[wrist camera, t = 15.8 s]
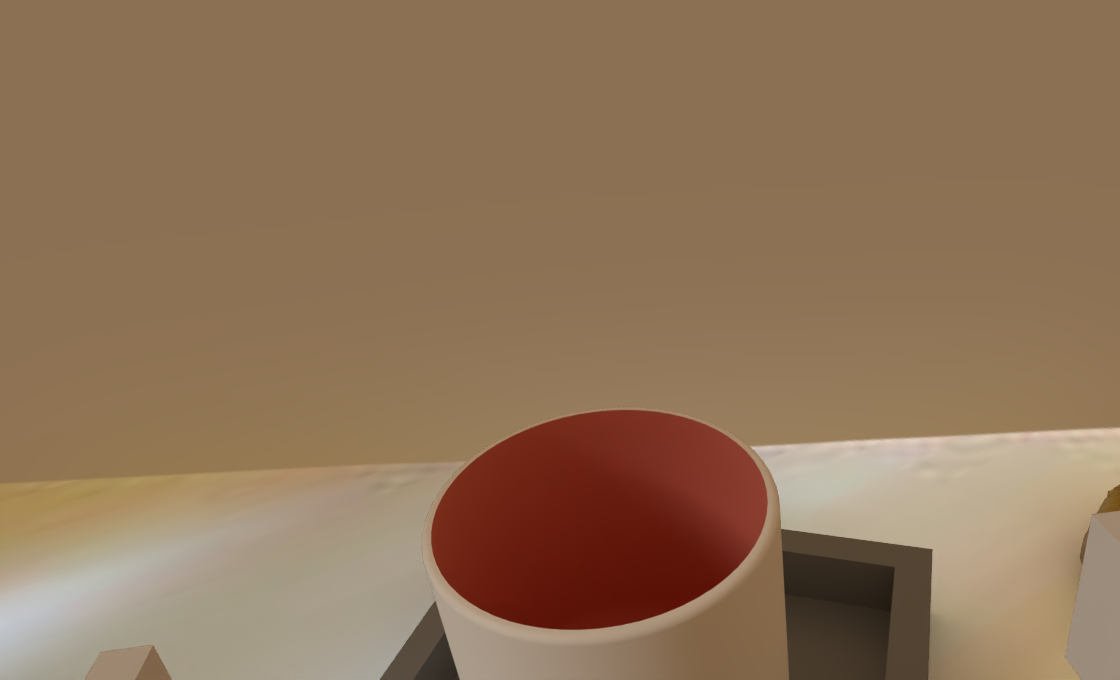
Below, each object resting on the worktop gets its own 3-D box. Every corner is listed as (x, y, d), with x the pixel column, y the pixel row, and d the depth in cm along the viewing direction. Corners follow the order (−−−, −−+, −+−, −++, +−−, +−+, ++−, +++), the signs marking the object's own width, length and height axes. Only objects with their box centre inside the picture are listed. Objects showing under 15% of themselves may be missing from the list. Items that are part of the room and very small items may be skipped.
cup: (575, 597, 34) (531, 389, 29) (824, 665, 29) (818, 428, 24) (432, 817, 26) (345, 581, 22) (738, 959, 21) (706, 693, 17)
